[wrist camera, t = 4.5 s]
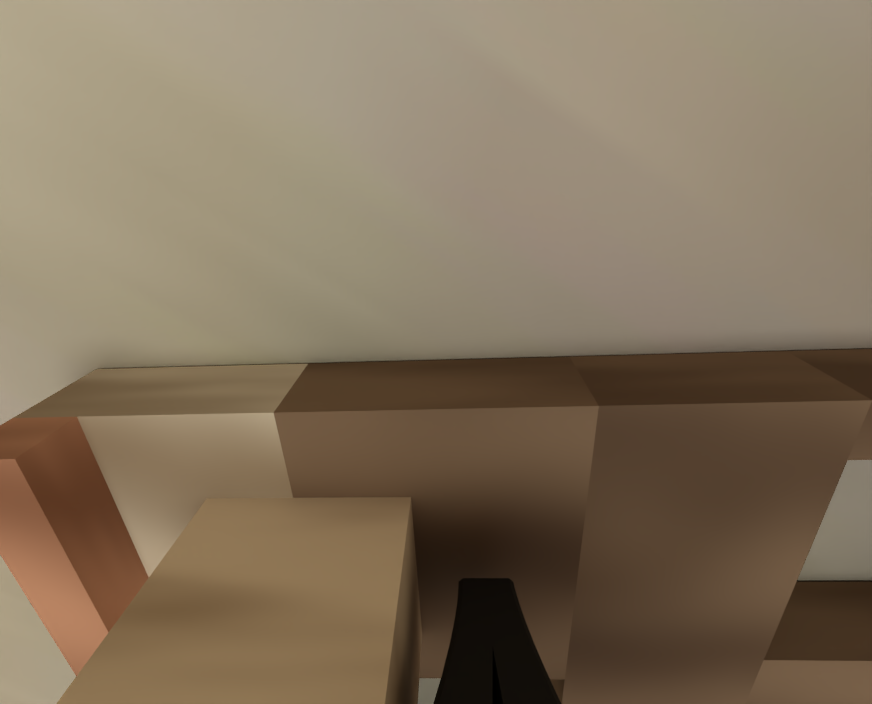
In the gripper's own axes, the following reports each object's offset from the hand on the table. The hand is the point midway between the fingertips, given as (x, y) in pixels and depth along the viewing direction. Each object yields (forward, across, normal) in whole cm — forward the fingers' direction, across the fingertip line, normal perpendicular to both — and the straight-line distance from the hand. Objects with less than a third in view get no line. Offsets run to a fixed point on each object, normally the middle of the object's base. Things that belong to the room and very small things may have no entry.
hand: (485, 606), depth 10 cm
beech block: (+1, +4, 0) cm, 4 cm away
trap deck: (+3, -3, +4) cm, 6 cm away
